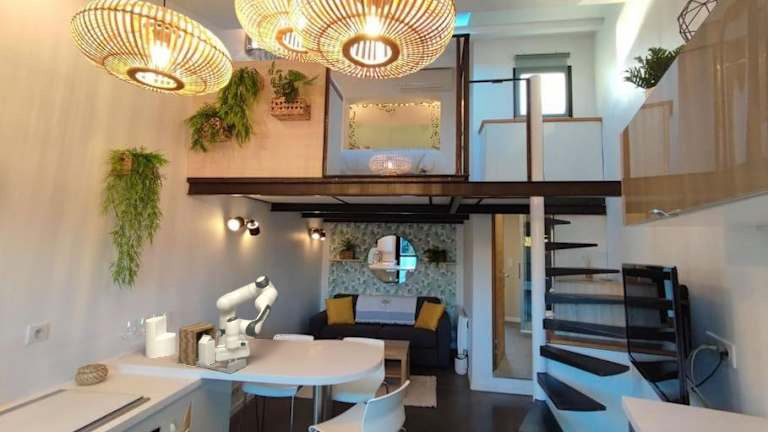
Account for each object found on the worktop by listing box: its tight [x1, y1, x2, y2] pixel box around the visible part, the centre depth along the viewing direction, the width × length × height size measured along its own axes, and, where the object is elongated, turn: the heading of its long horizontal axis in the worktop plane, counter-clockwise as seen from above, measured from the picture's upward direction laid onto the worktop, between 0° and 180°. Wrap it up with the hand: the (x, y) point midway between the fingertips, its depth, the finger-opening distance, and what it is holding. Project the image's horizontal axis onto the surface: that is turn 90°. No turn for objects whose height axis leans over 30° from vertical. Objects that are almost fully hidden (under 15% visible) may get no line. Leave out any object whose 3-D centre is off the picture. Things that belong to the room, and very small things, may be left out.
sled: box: [196, 357, 247, 374], centre depth 241 cm, size 32×12×5 cm, turn 65°
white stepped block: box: [145, 315, 177, 359], centre depth 268 cm, size 19×19×25 cm
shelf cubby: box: [178, 322, 216, 367], centre depth 250 cm, size 14×16×24 cm
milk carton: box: [198, 335, 216, 366], centre depth 246 cm, size 7×7×19 cm
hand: (232, 365), depth 236 cm, fingers closed
